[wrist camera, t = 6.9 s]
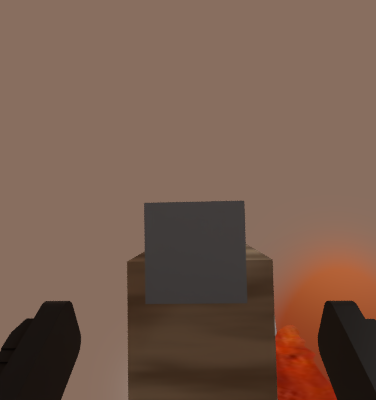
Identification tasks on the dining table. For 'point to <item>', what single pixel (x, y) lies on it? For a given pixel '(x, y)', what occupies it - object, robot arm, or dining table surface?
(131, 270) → the oak stand
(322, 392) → the dining table surface
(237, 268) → the gray bar
